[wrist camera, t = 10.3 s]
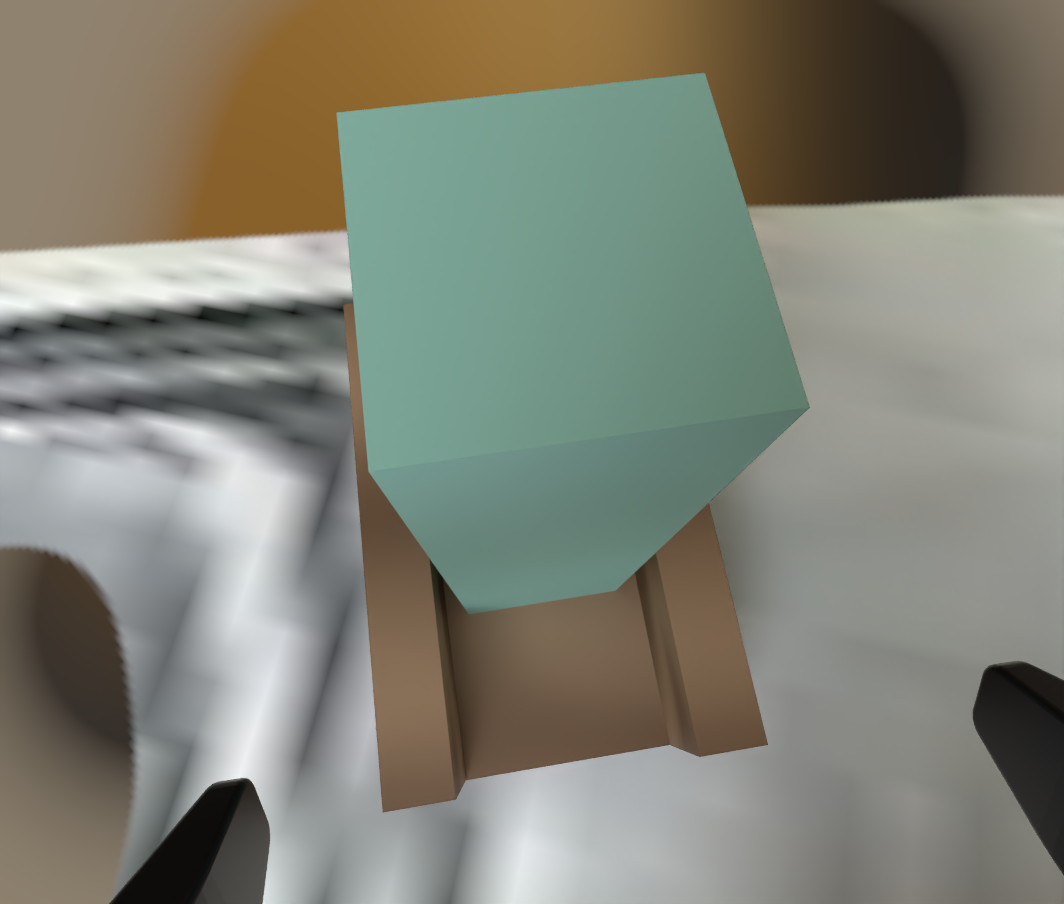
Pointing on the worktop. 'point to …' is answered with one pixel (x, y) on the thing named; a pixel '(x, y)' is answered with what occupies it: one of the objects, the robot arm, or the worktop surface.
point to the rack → (542, 659)
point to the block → (558, 328)
